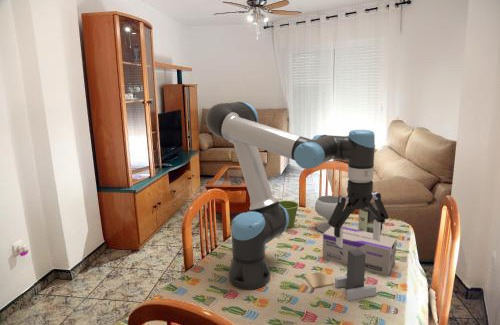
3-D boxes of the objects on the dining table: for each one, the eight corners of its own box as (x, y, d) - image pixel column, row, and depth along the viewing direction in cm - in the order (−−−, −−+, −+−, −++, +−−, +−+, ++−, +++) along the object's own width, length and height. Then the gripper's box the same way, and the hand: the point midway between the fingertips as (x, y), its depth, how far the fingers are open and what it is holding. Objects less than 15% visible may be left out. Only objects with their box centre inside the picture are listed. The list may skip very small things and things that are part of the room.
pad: (312, 288, 114) (312, 287, 114) (303, 276, 121) (303, 274, 121) (334, 284, 116) (334, 283, 116) (323, 272, 123) (323, 271, 123)
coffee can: (384, 233, 155) (386, 205, 152) (377, 242, 147) (379, 211, 144) (362, 228, 161) (363, 200, 158) (354, 236, 153) (355, 207, 150)
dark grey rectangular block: (352, 294, 110) (354, 255, 107) (346, 288, 114) (348, 250, 111) (363, 292, 111) (365, 254, 108) (356, 286, 115) (358, 248, 112)
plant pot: (300, 230, 161) (300, 208, 158) (275, 230, 161) (275, 208, 159) (297, 220, 172) (297, 200, 170) (274, 221, 173) (274, 200, 170)
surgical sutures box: (394, 264, 129) (396, 238, 126) (387, 277, 120) (389, 249, 118) (332, 248, 143) (333, 224, 140) (322, 258, 134) (323, 233, 132)
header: (348, 300, 107) (349, 292, 106) (334, 285, 115) (335, 277, 115) (376, 295, 109) (376, 287, 109) (360, 280, 118) (360, 272, 117)
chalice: (332, 221, 170) (333, 193, 167) (350, 231, 158) (351, 201, 155) (309, 225, 166) (309, 197, 162) (325, 237, 153) (325, 206, 150)
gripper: (329, 187, 97) (328, 253, 102) (402, 178, 104) (398, 242, 108) (318, 180, 105) (317, 243, 109) (387, 173, 111) (384, 233, 115)
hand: (358, 242), depth 108 cm, fingers open, 13 cm apart
